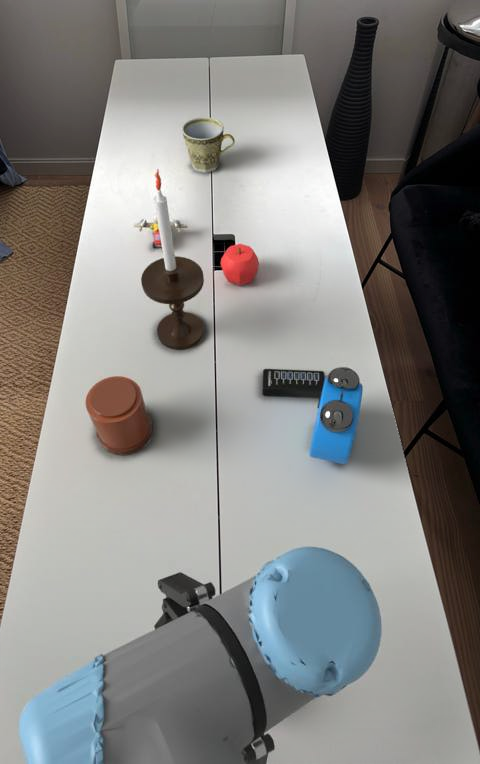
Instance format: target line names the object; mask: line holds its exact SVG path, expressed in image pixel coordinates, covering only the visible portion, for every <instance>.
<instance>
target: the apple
mask: <svg viewBox="0 0 480 764" xmlns="http://www.w3.org/2000/svg"><path fill="white" fill-rule="evenodd" d="M259 266H260V260H259V257H258V255H257V254H256V252H255V250H254V249H253V248H252V247H251V246H250V245H246V244H242V243H238V244H234V245H230V246H229V247H228V248H227V249H226V251H225V252H224V253H223V255H222V257H221V259H220V267H221V269H222V273H223V274H224V277H225V279H226V280H227V283H230V284H233V285H236V286H243V285H246V284H250V283H252V282H253V280H255V277H256V275H257V273H258V269H259Z"/></svg>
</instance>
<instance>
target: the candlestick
mask: <svg viewBox="0 0 480 764" xmlns="http://www.w3.org/2000/svg"><path fill="white" fill-rule="evenodd" d="M154 177H155V179H156V180H155V188H156V196H154V198H153V202H154V207H155V213H156V214H157V220H158V226H159V232H160V238H161V244H162V247H161V249H162V256H163V257H162V258H159V259H156V260H155V261H153V262H151V263H150V264H148V265H147V266H146V268H145V269H144V270H143V272H142V274H141V278H140V281H141V287H142V290H143V292H144V294H145V295H146V296H147V297H148V298H149V299H150V300H152V301H154V302H156V303H159V304H162V305H168V306H169V310H170V311H171V313H170V314H168V315H166V316H164V317H163V318H162V319H161V320H160V321H159V323H158V324H157V326H156V327H157V329H156V334H157V338H158V340H159V342H160V343H161V344H162V345H163V346H164V347H166V348H168V349H171V350H175V351H183V350H188V349H191V348H193V347H195V346H196V345H197V344H199V343H200V342H201V340H202V339H203V337H204V334H205V328H204V323H203V321H202V320H201V318H200V317H199V316H197V315H196V314H194V313H192V312H187V311H184V308H185V302H188V301H190V300H192V299H194V298H195V297H197V295H198V294H200V292H201V291H202V289H203V287H204V283H205V282H204V281H205V277H204V271H203V269H202V267H201V266H200V264H199V263H197V262H196V261H194V260H192V259H190V258H187V257H185V256H178V255H177V256H176V255H175V248H174V242H173V241H174V239H173V235H172V234H173V233H172V228H171V227H170V222H171V221H170V220H171V219H170V213H169V206H168V199H167V196H165V195H164V194H163V193H162V189H161V188H162V178H161V176H160V171H159V168H157V169H156V172H155V174H154ZM156 214H155V215H156Z"/></svg>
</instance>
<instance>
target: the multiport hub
mask: <svg viewBox="0 0 480 764" xmlns="http://www.w3.org/2000/svg"><path fill="white" fill-rule="evenodd" d="M325 376H326V375H325V372H324V371H323V370H310V369H309V370H308V369H307V370H305V369H281V368H280V369H279V368H264V369H263V370H262V387H261V394H262V396H263V397H281V398H282V397H283V398H284V397H285V398H304V399H306V398H308V399H319V397H320V395H321V391H322V390H323V386H324V381H325V378H326V377H325Z"/></svg>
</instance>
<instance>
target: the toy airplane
mask: <svg viewBox="0 0 480 764" xmlns="http://www.w3.org/2000/svg"><path fill="white" fill-rule="evenodd" d="M170 227H171V229H177V232H178V233H181V230H182V229H187V228H188V224H186V223H181V221H180V220H179V219H175V218H173V219H172V221H170ZM133 228H139V229H138V231H139V232H142V231H143V228H146V229H147V228H149V229H150V230H153V241H152V249H156V247H158V248H162V244H161V238H160V232H159V226H158V220H157V214H154V216H153V222H147V218H143V219H141V220H140V221H139V222H135V223H134V224H133Z"/></svg>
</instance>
